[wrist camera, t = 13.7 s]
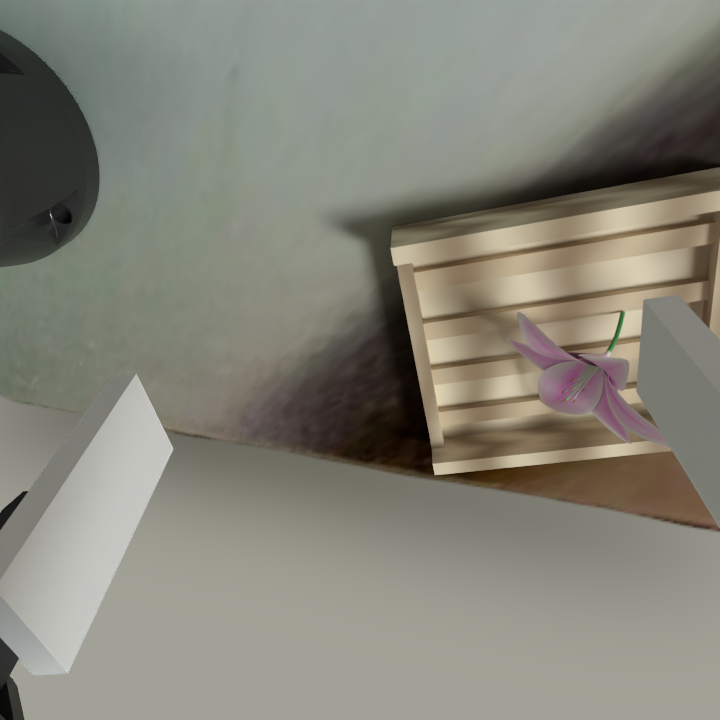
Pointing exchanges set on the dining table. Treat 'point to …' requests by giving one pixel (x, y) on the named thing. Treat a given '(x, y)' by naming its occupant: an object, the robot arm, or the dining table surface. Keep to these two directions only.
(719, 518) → the robot arm
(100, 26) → the dining table surface
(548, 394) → the lily
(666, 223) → the drying rack
